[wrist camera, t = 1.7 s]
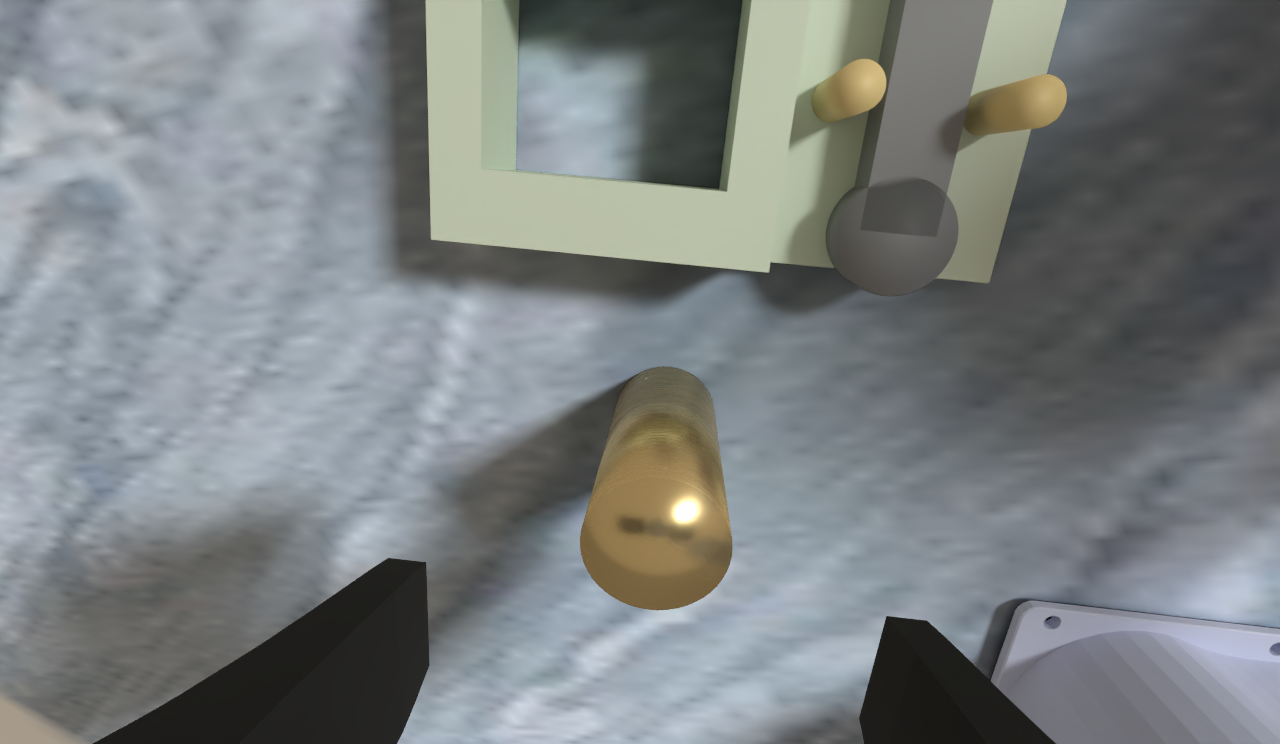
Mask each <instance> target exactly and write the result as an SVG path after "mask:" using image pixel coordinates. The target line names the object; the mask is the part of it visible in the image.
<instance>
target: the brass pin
mask: <svg viewBox="0 0 1280 744" xmlns="http://www.w3.org/2000/svg"><path fill="white" fill-rule="evenodd" d="M580 549H581V555H582V558H583V561H584V564H585V566H586V568H587V571H588V572H589V574H590V575H591V577H592V578H593V580H594V581H595V582H596V583H597V584H598V585H599V586H600V587H601V588H602V589H603V590H604V591H605V592H607V593H608V594H609V595H611V596H612V597H614V598H616V599H617V600H619V601H621V602H623V603H626V604H628V605H631V606H635V607H638V608H643V609H649V610H669V609H675V608H680V607H683V606H687V605H689V604H692V603H694V602H696V601H698V600H700V599H702V598H703V597H705V596H706V595H707V594H709V593H710V592H711V591H712V590H713V589H714V588H715V587H716V586H717V585H718V584H719V583H720V581H721V580H722V579H723V577H724V575H725V574H726V572H727V569H728V567H729V565H730V561H731V556H732V537H731V530H730V522H729V515H728V508H727V500H726V493H725V486H724V478H723V471H722V464H721V457H720V449H719V442H718V435H717V427H716V420H715V413H714V406H713V401H712V398H711V396H710V394H709V392H708V390H707V388H706V387H705V386H704V384H703V383H702V382H701V381H700V380H699V379H698V378H696V377H695V376H694V375H692V374H690V373H689V372H686V371H684V370H681V369H678V368H673V367H656V368H651V369H648V370H645V371H643V372H641V373H639V374H638V375H636V376H635V377H633V378H632V379H631V380H630V381H629V382H628V383H627V384H626V385H625V387H624V388H623V390H622V392H621V394H620V396H619V399H618V402H617V406H616V409H615V413H614V417H613V420H612V424H611V427H610V431H609V434H608V438H607V441H606V445H605V448H604V452H603V455H602V459H601V462H600V466H599V469H598V473H597V476H596V480H595V484H594V487H593V491H592V494H591V498H590V501H589V505H588V508H587V512H586V515H585V519H584V522H583V526H582V529H581V536H580Z"/></svg>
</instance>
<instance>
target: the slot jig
mask: <svg viewBox="0 0 1280 744" xmlns="http://www.w3.org/2000/svg"><path fill="white" fill-rule="evenodd" d="M1066 2H1067V0H743V2H742V10H741V18H740V26H739V34H738V42H737V50H736V58H735V66H734V74H733V82H732V90H731V98H730V106H729V114H728V122H727V130H726V138H725V146H724V154H723V162H722V171H721V179H720V187H719V189H715V188H704V187H693V186H683V185H672V184H661V183H650V182H640V181H629V180H618V179H607V178H597V177H586V176H575V175H565V174H554V173H543V172H532V171H522V170H516V136H517V88H518V40H519V0H426V42H427V86H428V130H429V174H430V218H431V240H440V241H451V242H461V243H471V244H481V245H491V246H502V247H512V248H522V249H532V250H543V251H553V252H563V253H573V254H583V255H594V256H604V257H614V258H624V259H634V260H645V261H655V262H665V263H675V264H685V265H696V266H706V267H716V268H726V269H736V270H747V271H757V272H767V273H769V269H770V263H771V262H774V263H784V264H794V265H805V266H815V267H825V268H835V269H836V270H837V271H838V272H839V273H840V274H841V275H842V276H843V277H844V278H846V279H848V280H849V281H851V282H852V283H854V284H855V285H857V286H859V287H860V288H862V289H863V290H866V291H868V292H870V293H873V294H876V295H882V296H899V295H904V294H908V293H911V292H914V291H916V290H919V289H921V288H923V287H924V286H926V285H927V284H929V283H930V282H931V281H933V280H934V279H935V278H938V279H949V280H959V281H969V282H979V283H989V282H990V278H991V275H992V271H993V267H994V264H995V260H996V256H997V253H998V249H999V246H1000V242H1001V238H1002V235H1003V231H1004V227H1005V224H1006V220H1007V216H1008V213H1009V209H1010V206H1011V202H1012V198H1013V195H1014V191H1015V187H1016V184H1017V180H1018V176H1019V173H1020V169H1021V165H1022V162H1023V158H1024V155H1025V151H1026V147H1027V144H1028V140H1029V136H1030V133H1031V129H1035V128H1041V127H1045V126H1047V125H1049V124H1051V123H1052V122H1054V121H1055V120H1056V119H1057V118H1058V117H1059V116H1060V114H1061V113H1062V111H1063V109H1064V107H1065V105H1066V101H1067V91H1066V87H1065V85H1064V83H1063V82H1062V81H1061V80H1060V79H1059V78H1058V77H1056V76H1054V75H1049V74H1047V71H1048V67H1049V63H1050V60H1051V56H1052V53H1053V49H1054V45H1055V42H1056V38H1057V34H1058V31H1059V27H1060V23H1061V20H1062V16H1063V12H1064V9H1065V5H1066Z"/></svg>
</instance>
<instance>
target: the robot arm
mask: <svg viewBox="0 0 1280 744" xmlns="http://www.w3.org/2000/svg"><path fill="white" fill-rule="evenodd" d="M1050 616H1053V617H1052V618H1051V619H1049V620H1046V621H1045V619H1046V618H1048V617H1050ZM428 667H429V642H428V610H427V577H426V562H418V561H409V560H400V559H392V558H388V559H386V560H385V561H383V562H382V563H380V564H378V565H377V566H375V567H374V568H372V569H371V570H369V571H368V572H366V573H365V574H364V575H362V576H361V577H359V578H358V579H356V580H355V581H353V582H352V583H351V584H349V585H348V586H346V587H345V588H343V589H342V590H340V591H339V592H338V593H336V594H335V595H333V596H332V597H330V598H329V599H327V600H326V601H325V602H323V603H322V604H320V605H319V606H317V607H316V608H314V609H313V610H311V611H310V612H308V613H307V614H305V615H304V616H302V617H301V618H300V619H298V620H297V621H295V622H294V623H292V624H291V625H289V626H288V627H286V628H285V629H283V630H282V631H280V632H279V633H277V634H276V635H274V636H273V637H271V638H270V639H268V640H267V641H265V642H264V643H262V644H261V645H259V646H258V647H256V648H254V649H253V650H251V651H250V652H248V653H246V654H245V655H243V656H242V657H240V658H238V659H237V660H235V661H234V662H232V663H230V664H229V665H227V666H226V667H224V668H222V669H221V670H219V671H218V672H216V673H214V674H213V675H211V676H209V677H208V678H206V679H205V680H203V681H201V682H200V683H198V684H197V685H195V686H193V687H192V688H190V689H189V690H187V691H185V692H184V693H182V694H181V695H179V696H177V697H175V698H174V699H172V700H170V701H169V702H167V703H165V704H164V705H162V706H160V707H158V708H157V709H155V710H153V711H151V712H150V713H148V714H146V715H144V716H143V717H141V718H139V719H137V720H135V721H134V722H132V723H130V724H128V725H127V726H125V727H123V728H121V729H119V730H117V731H115V732H114V733H112V734H110V735H108V736H106V737H104V738H102V739H101V740H99V741H97V742H95V743H93V744H397V742H398V740H399V739H400V737H401V735H402V733H403V730H404V728H405V726H406V723H407V721H408V718H409V716H410V713H411V711H412V708H413V706H414V704H415V701H416V699H417V696H418V693H419V691H420V688H421V686H422V683H423V680H424V678H425V675H426V673H427V670H428ZM859 719H860V724H861V729H862V734H863V739H864V744H1280V629H1276V628H1268V627H1259V626H1250V625H1242V624H1233V623H1224V622H1216V621H1207V620H1198V619H1190V618H1181V617H1172V616H1164V615H1155V614H1147V613H1138V612H1129V611H1121V610H1112V609H1103V608H1095V607H1086V606H1077V605H1069V604H1060V603H1051V602H1043V601H1027V602H1024V603H1022V604H1021V605H1019V606H1018V607H1017V609H1016V610H1015V612H1014V615H1013V618H1012V621H1011V624H1010V627H1009V629H1008V632H1007V635H1006V638H1005V641H1004V644H1003V647H1002V649H1001V652H1000V655H999V658H998V661H997V664H996V667H995V669H994V672H993V675H992V678H991V681H990V680H989V679H988V678H987V677H986V676H985V675H984V674H983V673H982V672H981V671H980V670H979V669H977V668H976V667H975V666H974V665H973V664H972V663H971V662H970V661H969V660H968V659H967V658H966V657H965V656H964V655H963V654H962V653H961V652H960V651H959V650H958V649H957V648H956V647H955V646H954V645H953V644H952V643H951V642H950V641H948V640H947V639H946V638H945V637H944V636H943V635H942V634H941V633H940V632H939V631H938V630H937V629H936V628H934V627H933V626H932V625H931V624H930V623H929V622H928V621H924V620H915V619H907V618H898V617H889V616H887V617H886V621H885V624H884V628H883V632H882V635H881V639H880V643H879V647H878V650H877V654H876V658H875V662H874V665H873V669H872V673H871V677H870V680H869V684H868V688H867V691H866V695H865V699H864V703H863V706H862V710H861V714H860V718H859Z"/></svg>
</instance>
